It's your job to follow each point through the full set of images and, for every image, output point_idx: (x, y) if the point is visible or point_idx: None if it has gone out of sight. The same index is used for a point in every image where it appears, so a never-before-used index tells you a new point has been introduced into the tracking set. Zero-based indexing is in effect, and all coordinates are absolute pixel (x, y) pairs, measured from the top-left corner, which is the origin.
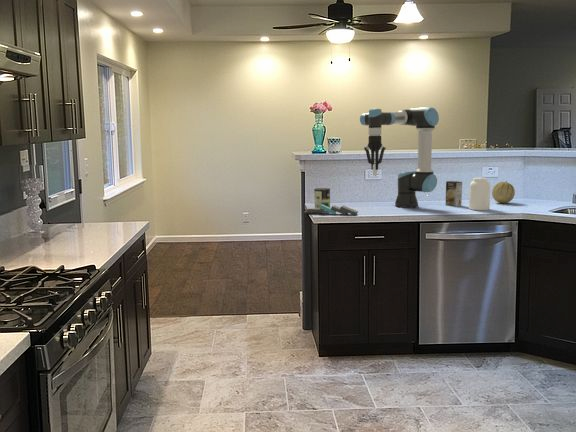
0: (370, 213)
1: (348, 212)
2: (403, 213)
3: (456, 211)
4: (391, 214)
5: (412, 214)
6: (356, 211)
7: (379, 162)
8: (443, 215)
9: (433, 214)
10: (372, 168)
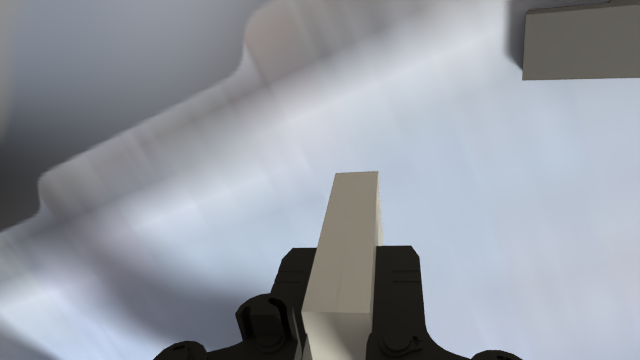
0: (445, 151)
1: (591, 5)
2: (266, 215)
3: (104, 333)
4: (308, 159)
5: (208, 198)
6: (530, 57)
7: (169, 357)
8: (73, 217)
9: (126, 231)
10: (393, 263)
